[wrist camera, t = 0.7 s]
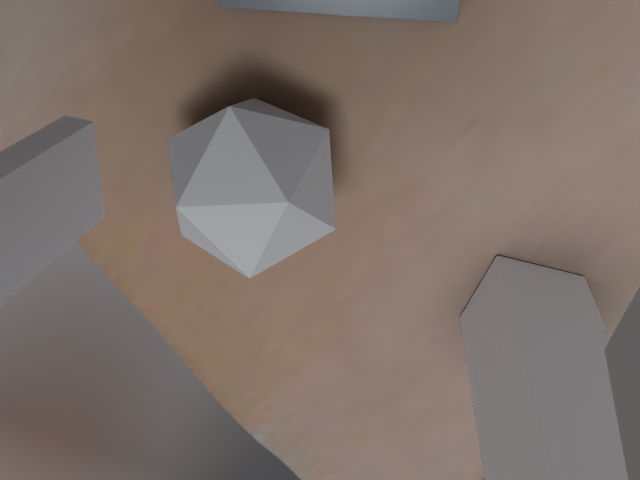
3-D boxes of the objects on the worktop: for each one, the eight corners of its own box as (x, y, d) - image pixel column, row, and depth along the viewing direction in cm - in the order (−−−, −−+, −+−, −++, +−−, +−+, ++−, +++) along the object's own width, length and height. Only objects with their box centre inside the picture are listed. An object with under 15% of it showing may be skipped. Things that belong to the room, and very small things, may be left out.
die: (156, 114, 32) (144, 285, 29) (202, 33, 24) (191, 252, 22) (289, 142, 35) (287, 295, 33) (364, 79, 28) (369, 271, 26)
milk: (584, 274, 36) (782, 727, 19) (538, 336, 40) (667, 759, 22) (494, 253, 35) (611, 700, 18) (456, 317, 39) (524, 737, 22)
